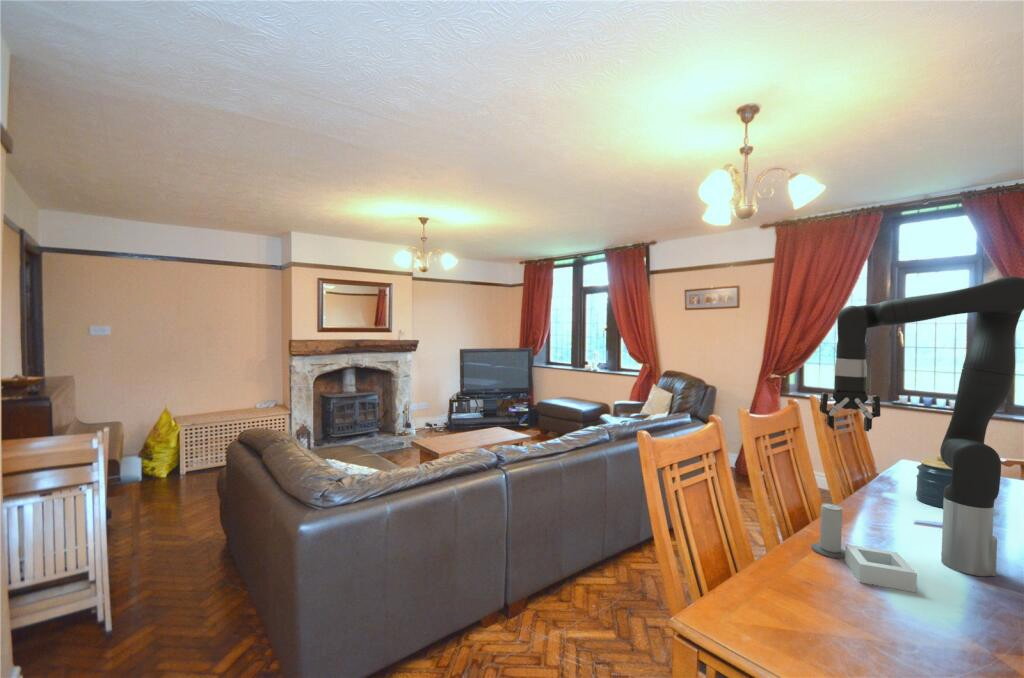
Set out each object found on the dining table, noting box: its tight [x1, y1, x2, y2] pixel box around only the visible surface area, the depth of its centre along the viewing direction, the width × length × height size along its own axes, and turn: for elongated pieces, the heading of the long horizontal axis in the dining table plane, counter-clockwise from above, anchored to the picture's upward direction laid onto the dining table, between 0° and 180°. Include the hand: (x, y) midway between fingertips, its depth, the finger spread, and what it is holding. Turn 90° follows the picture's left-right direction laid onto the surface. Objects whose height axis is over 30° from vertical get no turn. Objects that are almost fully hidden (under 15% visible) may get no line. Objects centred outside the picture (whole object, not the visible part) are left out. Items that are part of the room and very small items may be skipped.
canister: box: [915, 453, 952, 509], centre depth 163 cm, size 13×13×18 cm
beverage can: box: [819, 503, 843, 553], centre depth 126 cm, size 5×5×12 cm
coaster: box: [811, 542, 845, 560], centre depth 126 cm, size 8×8×1 cm
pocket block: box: [844, 543, 918, 593], centre depth 114 cm, size 11×11×4 cm
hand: (848, 429), depth 134 cm, fingers open, 8 cm apart
